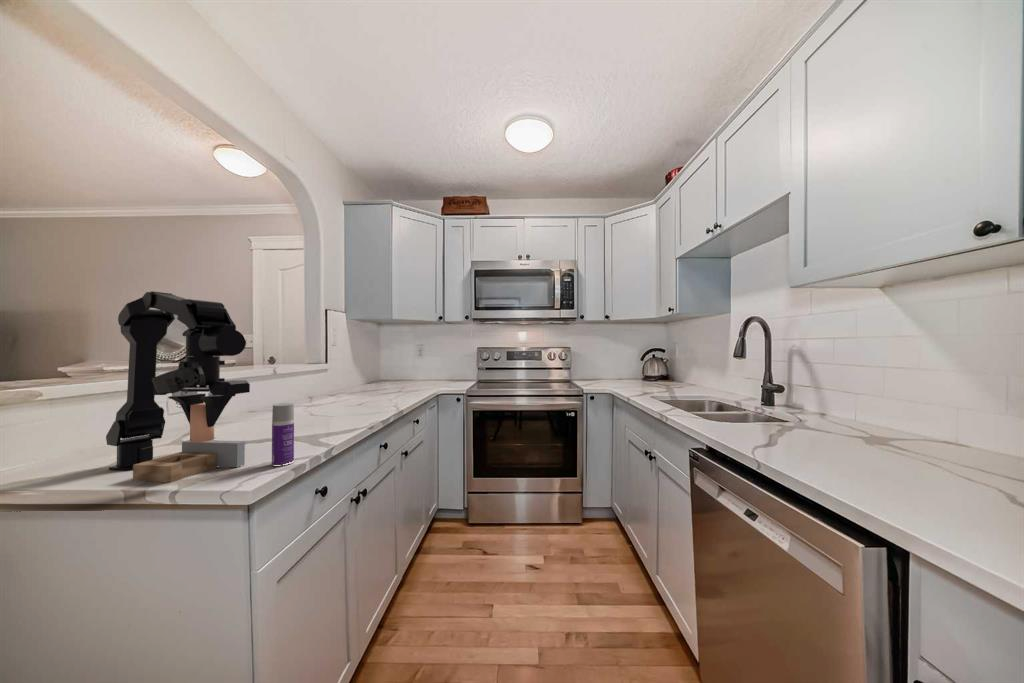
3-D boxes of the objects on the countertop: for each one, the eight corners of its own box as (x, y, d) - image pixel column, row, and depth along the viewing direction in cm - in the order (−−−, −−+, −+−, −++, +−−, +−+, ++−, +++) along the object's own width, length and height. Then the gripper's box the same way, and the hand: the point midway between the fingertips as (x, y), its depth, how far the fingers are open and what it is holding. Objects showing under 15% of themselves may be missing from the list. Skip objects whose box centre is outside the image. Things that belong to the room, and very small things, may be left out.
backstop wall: (181, 465, 87) (181, 441, 87) (190, 463, 89) (190, 439, 89) (237, 467, 85) (237, 443, 85) (244, 465, 87) (244, 441, 87)
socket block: (132, 480, 77) (133, 464, 77) (181, 465, 87) (181, 451, 87) (170, 482, 76) (170, 466, 76) (215, 467, 86) (216, 453, 86)
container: (285, 466, 85) (286, 405, 86) (267, 466, 85) (267, 406, 86) (297, 460, 90) (298, 403, 90) (280, 461, 90) (280, 403, 90)
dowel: (184, 442, 75) (185, 405, 75) (203, 437, 79) (204, 402, 79) (200, 442, 74) (201, 405, 75) (218, 438, 78) (219, 402, 79)
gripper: (123, 357, 71) (121, 434, 70) (202, 356, 68) (201, 436, 68) (182, 356, 82) (181, 423, 81) (252, 355, 79) (251, 424, 79)
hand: (202, 426), depth 77 cm, fingers closed on dowel, 4 cm apart
